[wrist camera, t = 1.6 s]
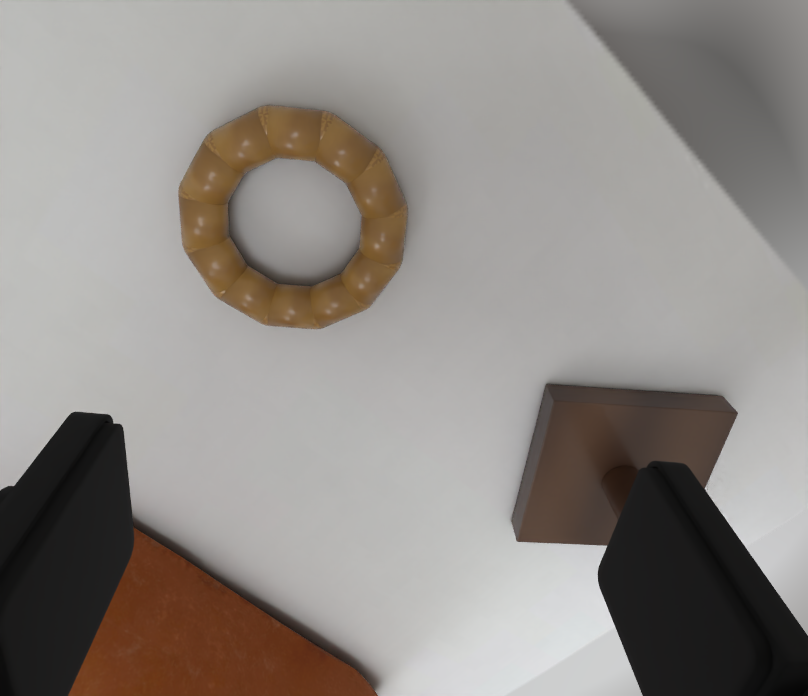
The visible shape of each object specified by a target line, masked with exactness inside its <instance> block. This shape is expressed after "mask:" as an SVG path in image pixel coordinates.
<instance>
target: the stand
mask: <svg viewBox="0 0 808 696" xmlns="http://www.w3.org/2000/svg"><path fill="white" fill-rule="evenodd" d="M737 414H738V412H737V411H736V410H735V409H734V408H733V407H732V406H731V405H730V404H729V403H728V401H727V400H726V399H725V398H724V397H723V396H714V395H700V394H685V393H670V392H655V391H640V390H625V389H610V388H595V387H580V386H565V385H550V384H547V385H546V388H545V391H544V395H543V399H542V403H541V407H540V411H539V415H538V419H537V423H536V427H535V431H534V435H533V439H532V443H531V447H530V451H529V455H528V458H527V462H526V466H525V470H524V474H523V478H522V482H521V486H520V490H519V494H518V498H517V502H516V506H515V510H514V514H513V518H512V521H511V522H512V525H513V529H514V533H515V536H516V540H517V541H518V542H538V543H561V544H584V545H607V546H608V544H609V541H610V539H611V536H612V534H613V531H614V529H615V527H616V524H617V522H618V519H619V517H620V514H621V512H622V510H623V507H624V505H625V502H626V500H627V497H628V495H629V493H630V490H631V488H632V485H633V483H634V480H635V478H636V476H637V473H638V471H639V470H640V469H641V468H646V467H647V465H648V464H649V463H650V462H651V461H666V462H677V463H683V464H686V465H687V466H688V467H689V468H690V470H691V471H692V472H693V474H694V475H695V477H696V478H697V479H698V481H699V482H700V484H701V485H702V487H703V488H704V489H705V486H706V484H707V482H708V480H709V477H710V475H711V473H712V471H713V468H714V466H715V464H716V462H717V459H718V457H719V455H720V453H721V450H722V448H723V446H724V444H725V441H726V439H727V437H728V435H729V432H730V430H731V428H732V426H733V423H734V421H735V419H736V417H737Z"/></svg>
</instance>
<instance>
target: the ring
mask: <svg viewBox="0 0 808 696" xmlns="http://www.w3.org/2000/svg"><path fill="white" fill-rule="evenodd" d="M275 158H285V159H295V160H306V161H315V162H316V163H318V164H319V165H320V166H322V167H323V168H325V169H326V170H328V171H329V172H330V173H332V174H333V175H335V176H336V177H338V178H339V179H341V180H342V181H343V182H345V183H346V184H347V186H348V189H349V191H350V193H351V195H352V197H353V199H354V201H355V203H356V205H357V207H358V209H359V211H360V213H361V215H362V218H361V232H360V246H359V249H358V251H357V252H356V253H355V255H354V256H353V258H352V259H351V260H350V262H349V263H348V265H347V266H346V267H345V269H344V270H343V272H342V273H341V274H339V275H337V276H334V277H332V278H330V279H328V280H325V281H323V282H321V283H318V284H316V285H314V286H300V285H287V284H277V283H276V282H274V281H272V280H271V279H269V278H267V277H266V276H264V275H262V274H261V273H259V272H258V271H256V270H254V269H253V268H251V267H249V266H248V265H247V264H246V262H245V261H244V259H243V257H242V256H241V254H240V252H239V251H238V249H237V248H236V246H235V244H234V243H233V241H232V239H231V238H230V236H229V216H228V201H229V199H230V198H231V196H232V194H233V193H234V191H235V189H236V188H237V186H238V184H239V183H240V181H241V179H242V177H243V176H244V174H245V173H247V172H249V171H251V170H253V169H255V168H257V167H259V166H261V165H263V164H265V163H267V162H269V161H271V160H273V159H275ZM178 193H179V194H178V195H179V208H180V222H181V235H182V245H183V248H184V250H185V252H186V254H187V255H188V257H189V258H190V260H191V261H192V263H193V264H194V266H195V267H196V269H197V270H198V272H199V273H200V275H201V276H202V278H203V279H204V281H205V282H206V284H207V286H208V287H209V289H210V290H211V292H212V293H213V294H214V295H215V296H216V297H217V298H218V299H220V300H221V301H223V302H225V303H226V304H228V305H230V306H232V307H233V308H235V309H237V310H239V311H240V312H242V313H244V314H245V315H247V316H249V317H251V318H252V319H254V320H256V321H258V322H259V323H261V324H264V325H267V326H278V327H291V328H305V329H321V328H324V327H327V326H329V325H331V324H334V323H336V322H338V321H341V320H343V319H345V318H348V317H350V316H352V315H355V314H357V313H359V312H362V311H364V310H366V309H368V308H369V307H370V306H371V305H372V304H373V302H374V301H375V300H376V299H377V297H378V296H379V295H380V293H381V292H382V291H383V289H384V288H385V287H386V285H387V284H388V283H389V281H390V280H391V279H392V277H393V276H394V275H395V273H396V272H397V271H398V269H399V268H400V266H401V264H402V260H403V252H404V243H405V233H406V224H407V215H408V208H407V203H406V201H405V199H404V196H403V194H402V192H401V190H400V187H399V185H398V183H397V181H396V178H395V176H394V174H393V172H392V170H391V167H390V165H389V163H388V161H387V158H386V156H385V154H384V153H383V151H382V150H381V149H380V148H379V147H378V146H376V145H375V144H374V143H372V142H371V141H370V140H368V139H367V138H366V137H364V136H363V135H361V134H360V133H359V132H357V131H356V130H355V129H353V128H352V127H351V126H349V125H348V124H346V123H345V122H344V121H342V120H341V119H340V118H338V117H337V116H336V115H334V114H332V113H330V112H327V111H322V110H312V109H302V108H293V107H283V106H273V105H266V106H261V107H259V108H257V109H255V110H253V111H251V112H249V113H247V114H245V115H243V116H241V117H239V118H237V119H235V120H233V121H231V122H229V123H227V124H225V125H223V126H221V127H219V128H217V129H215V130H213V131H212V132H210V133H209V134H208V135H207V136H206V137H205V139H204V141H203V142H202V144H201V146H200V148H199V150H198V152H197V153H196V155H195V157H194V159H193V161H192V163H191V164H190V166H189V168H188V170H187V172H186V174H185V175H184V177H183V179H182V181H181V183H180V186H179V191H178Z"/></svg>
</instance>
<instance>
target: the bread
mask: <svg viewBox="0 0 808 696" xmlns="http://www.w3.org/2000/svg"><path fill="white" fill-rule="evenodd" d="M133 528H134V527H133ZM68 696H378V695H377V694H376V692H375V691H374V690H373V688H372V687H371V685H370V684H369V683H368V682H367V681H366V680H365V679H364V678H363V676H362V675H361V674H360V673H359V672H358V671H357V670H356V669H354V668H353V667H351V666H349V665H348V664H346V663H345V662H343V661H341V660H340V659H338V658H336V657H335V656H333V655H331V654H330V653H328V652H326V651H325V650H323V649H322V648H320V647H318V646H317V645H315V644H314V643H312V642H310V641H309V640H307V639H305V638H304V637H302V636H301V635H299V634H297V633H296V632H294V631H293V630H291V629H289V628H288V627H286V626H285V625H283V624H282V623H280V622H279V621H277V620H276V619H274V618H273V617H271V616H269V615H268V614H266V613H265V612H263V611H262V610H260V609H259V608H257V607H256V606H254V605H253V604H251V603H250V602H248V601H247V600H245V599H244V598H242V597H241V596H239V595H238V594H236V593H235V592H233V591H232V590H230V589H229V588H227V587H226V586H224V585H223V584H221V583H220V582H218V581H217V580H215V579H214V578H212V577H211V576H209V575H208V574H206V573H205V572H203V571H202V570H200V569H199V568H197V567H196V566H194V565H193V564H191V563H190V562H188V561H187V560H185V559H184V558H182V557H181V556H179V555H178V554H176V553H174V552H173V551H171V550H170V549H168V548H166V547H165V546H163V545H161V544H160V543H158V542H156V541H155V540H153V539H152V538H150V537H148V536H147V535H145V534H143V533H142V532H140V531H139V530H137V529H135V528H134V547H133V551H132V555H131V558H130V560H129V563H128V565H127V567H126V569H125V571H124V574H123V576H122V578H121V580H120V582H119V585H118V587H117V589H116V591H115V593H114V596H113V598H112V600H111V602H110V604H109V607H108V609H107V611H106V613H105V615H104V618H103V620H102V622H101V624H100V626H99V629H98V631H97V633H96V635H95V638H94V640H93V642H92V644H91V646H90V649H89V651H88V653H87V655H86V657H85V660H84V662H83V664H82V666H81V668H80V671H79V673H78V675H77V677H76V679H75V682H74V684H73V686H72V688H71V690H70V693H69V695H68Z"/></svg>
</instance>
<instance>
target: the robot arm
mask: <svg viewBox="0 0 808 696" xmlns="http://www.w3.org/2000/svg"><path fill="white" fill-rule="evenodd" d="M133 547H134V528H133V518H132V509H131V499H130V489H129V479H128V470H127V460H126V450H125V440H124V431H123V427H122V425H121V424H113V419H112V417H111V416H110V415H108V414H96V413H84V412H73V413H71V414H70V415H69V416H68V417H67V419H66V420H65V421H64V423H63V424H62V425H61V426H60V428H59V429H58V430H57V432H56V433H55V434H54V435H53V437H52V438H51V439H50V441H49V442H48V443H47V445H46V446H45V447H44V448H43V450H42V451H41V452H40V454H39V455H38V456H37V457H36V459H35V460H34V461H33V463H32V464H31V465H30V467H29V468H28V469H27V470H26V472H25V473H24V474H23V476H22V477H21V478H20V479H19V481H18V482H17V483H16V485H15V486H8V487H6V488H4V489H2V490H1V491H0V696H68V695H69V693H70V690H71V688H72V686H73V684H74V682H75V679H76V677H77V675H78V673H79V671H80V668H81V666H82V664H83V662H84V660H85V657H86V655H87V653H88V651H89V649H90V646H91V644H92V642H93V640H94V638H95V635H96V633H97V631H98V629H99V626H100V624H101V622H102V620H103V618H104V615H105V613H106V611H107V609H108V607H109V604H110V602H111V600H112V598H113V596H114V593H115V591H116V589H117V587H118V585H119V582H120V580H121V578H122V576H123V574H124V571H125V569H126V567H127V565H128V563H129V560H130V558H131V555H132V551H133ZM598 582H599V586H600V589H601V592H602V594H603V597H604V599H605V602H606V604H607V607H608V609H609V612H610V614H611V617H612V619H613V622H614V625H615V627H616V630H617V632H618V635H619V637H620V640H621V642H622V645H623V647H624V649H625V652H626V655H627V657H628V660H629V662H630V665H631V667H632V670H633V672H634V675H635V677H636V680H637V682H638V685H639V687H640V690H641V692H642V695H643V696H808V636H807V634H806V633H805V631H804V630H803V628H802V627H801V626H800V624H799V623H798V621H797V620H796V619H795V617H794V616H793V614H792V613H791V611H790V610H789V609H788V607H787V606H786V604H785V603H784V602H783V600H782V599H781V598H780V596H779V594H778V593H777V592H776V590H775V589H774V587H773V586H772V585H771V583H770V582H769V580H768V579H767V577H766V576H765V575H764V573H763V572H762V570H761V569H760V567H759V566H758V565H757V563H756V562H755V560H754V559H753V558H752V556H751V555H750V554H749V552H748V551H747V549H746V548H745V546H744V545H743V543H742V542H741V541H740V539H739V538H738V536H737V535H736V533H735V532H734V531H733V529H732V528H731V526H730V525H729V523H728V522H727V521H726V519H725V518H724V516H723V515H722V514H721V512H720V511H719V509H718V508H717V506H716V505H715V504H714V502H713V501H712V499H711V498H710V497H709V495H708V494H707V492H706V491H705V489H704V488H703V487H702V485H701V484H700V482H699V481H698V479H697V478H696V477H695V475H694V474H693V472H692V471H691V470H690V468H689V467H688V466H687V465H686V464H683V463H677V462H666V461H651V462H650V463H649V464H648V465H647V467H646V468H641V469H640V470H639V471H638V473H637V476H636V478H635V480H634V483H633V485H632V488H631V490H630V493H629V495H628V497H627V500H626V502H625V505H624V507H623V510H622V512H621V514H620V517H619V519H618V522H617V524H616V527H615V529H614V531H613V534H612V536H611V539H610V541H609V544H608V546H607V548H606V551H605V553H604V556H603V558H602V561H601V563H600V565H599V569H598Z"/></svg>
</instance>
